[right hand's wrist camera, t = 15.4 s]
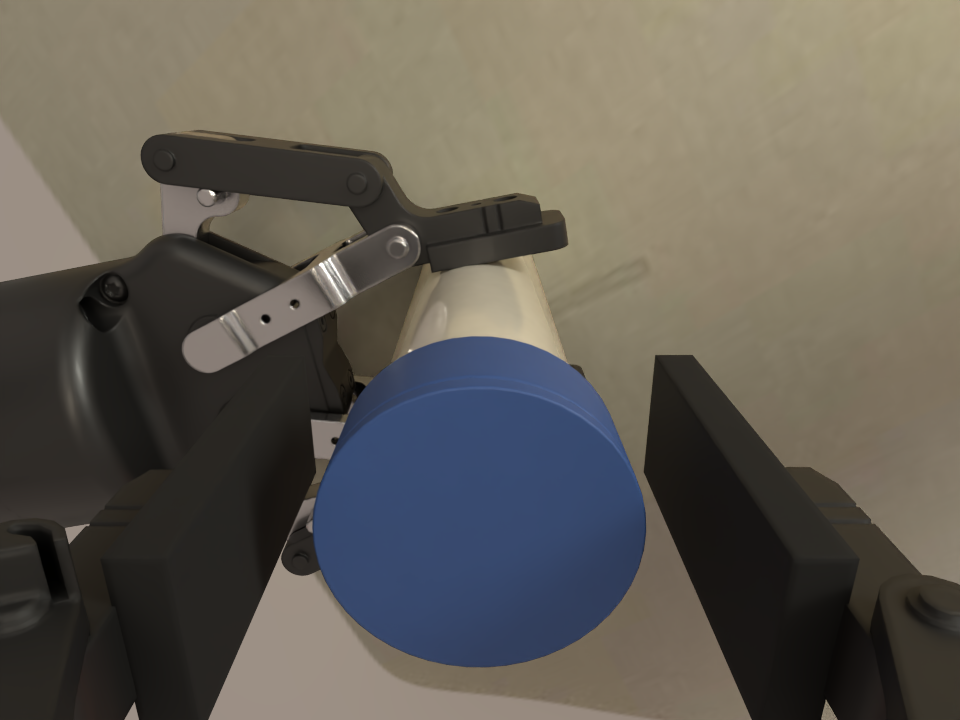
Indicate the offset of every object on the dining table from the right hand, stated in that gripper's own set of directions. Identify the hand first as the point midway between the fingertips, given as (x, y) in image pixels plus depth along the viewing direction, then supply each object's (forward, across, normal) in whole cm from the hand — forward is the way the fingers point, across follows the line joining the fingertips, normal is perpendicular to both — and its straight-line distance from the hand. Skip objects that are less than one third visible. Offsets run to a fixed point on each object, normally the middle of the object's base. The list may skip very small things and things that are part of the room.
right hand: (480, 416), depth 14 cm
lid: (-4, 0, 0) cm, 4 cm away
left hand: (+6, -3, 0) cm, 6 cm away
